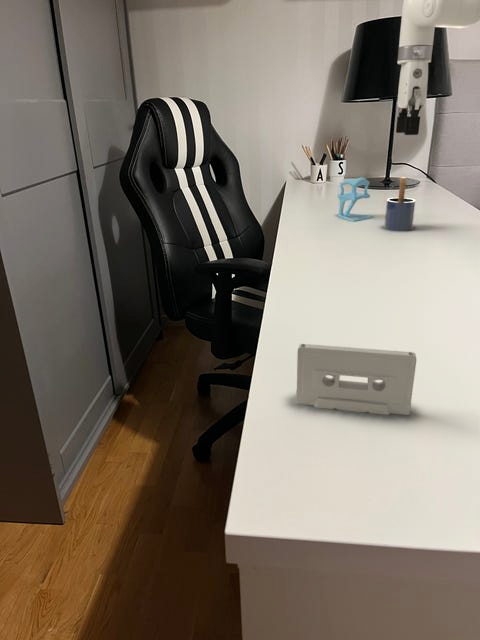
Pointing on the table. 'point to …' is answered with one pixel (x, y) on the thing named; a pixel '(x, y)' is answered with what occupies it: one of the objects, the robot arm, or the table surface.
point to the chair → (352, 197)
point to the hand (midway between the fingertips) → (406, 133)
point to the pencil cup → (399, 214)
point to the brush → (402, 189)
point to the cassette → (359, 363)
